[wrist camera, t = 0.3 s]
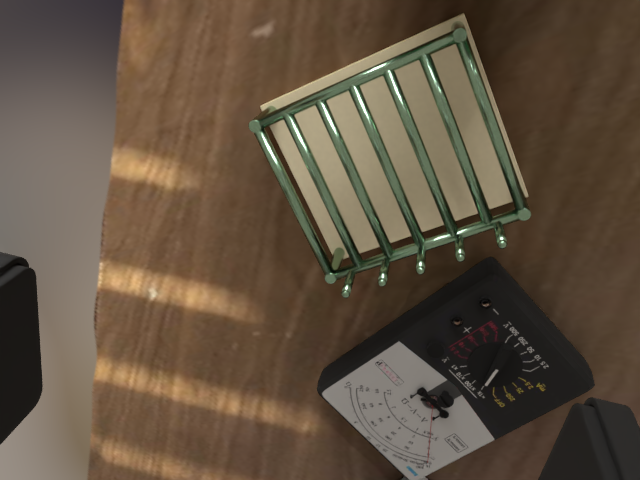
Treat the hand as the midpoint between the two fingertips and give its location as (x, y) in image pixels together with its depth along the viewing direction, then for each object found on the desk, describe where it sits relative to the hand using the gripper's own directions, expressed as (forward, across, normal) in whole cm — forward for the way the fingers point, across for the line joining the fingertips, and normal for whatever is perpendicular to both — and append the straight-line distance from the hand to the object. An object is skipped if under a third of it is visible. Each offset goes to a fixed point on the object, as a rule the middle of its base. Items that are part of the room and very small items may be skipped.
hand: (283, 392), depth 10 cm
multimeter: (+37, -10, +24) cm, 45 cm away
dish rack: (+36, -1, +6) cm, 37 cm away
